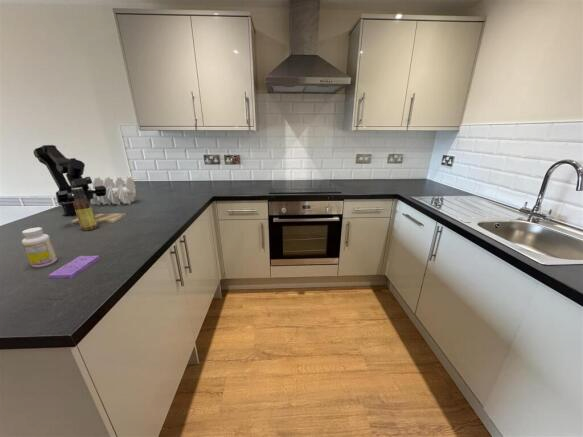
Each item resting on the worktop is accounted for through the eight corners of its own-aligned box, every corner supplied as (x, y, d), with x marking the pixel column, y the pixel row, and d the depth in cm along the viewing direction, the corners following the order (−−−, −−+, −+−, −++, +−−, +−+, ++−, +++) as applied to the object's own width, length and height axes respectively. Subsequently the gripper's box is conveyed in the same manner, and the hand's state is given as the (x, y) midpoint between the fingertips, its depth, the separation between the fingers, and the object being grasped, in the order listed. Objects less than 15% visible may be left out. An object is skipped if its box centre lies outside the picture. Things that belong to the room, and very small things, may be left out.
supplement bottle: (43, 258, 88) (30, 226, 84) (62, 258, 89) (51, 225, 84) (25, 268, 82) (11, 233, 77) (46, 267, 82) (33, 233, 78)
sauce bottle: (101, 227, 117) (90, 187, 111) (87, 232, 112) (74, 190, 105) (92, 225, 119) (80, 186, 113) (78, 230, 114) (65, 189, 107)
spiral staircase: (100, 208, 158) (141, 205, 162) (80, 204, 141) (126, 201, 144) (99, 181, 160) (139, 179, 163) (80, 174, 143) (125, 171, 146)
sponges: (100, 259, 89) (99, 255, 88) (72, 279, 77) (70, 274, 76) (81, 260, 89) (79, 255, 88) (49, 279, 77) (47, 274, 76)
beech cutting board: (72, 223, 122) (71, 220, 122) (87, 216, 133) (87, 213, 132) (113, 222, 124) (113, 220, 124) (125, 215, 134) (125, 213, 134)
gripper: (49, 174, 107) (62, 202, 104) (100, 169, 121) (112, 194, 118) (52, 189, 114) (64, 215, 112) (99, 183, 128) (111, 206, 125)
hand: (89, 207), depth 116 cm, fingers closed
